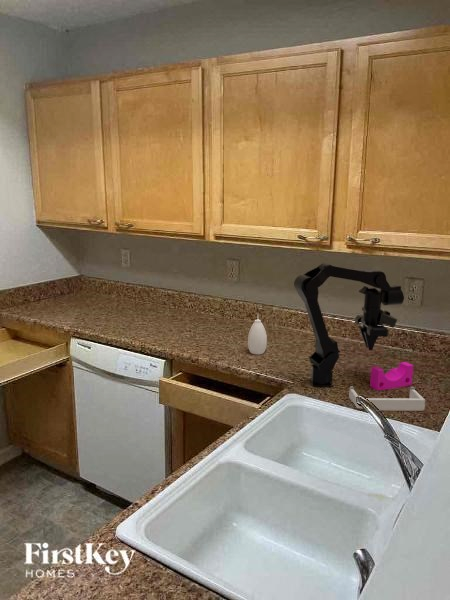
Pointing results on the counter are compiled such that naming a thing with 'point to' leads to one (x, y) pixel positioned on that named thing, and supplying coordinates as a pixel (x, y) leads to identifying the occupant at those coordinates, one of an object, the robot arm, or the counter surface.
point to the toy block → (391, 377)
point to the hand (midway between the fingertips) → (369, 348)
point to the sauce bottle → (257, 338)
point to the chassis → (394, 402)
